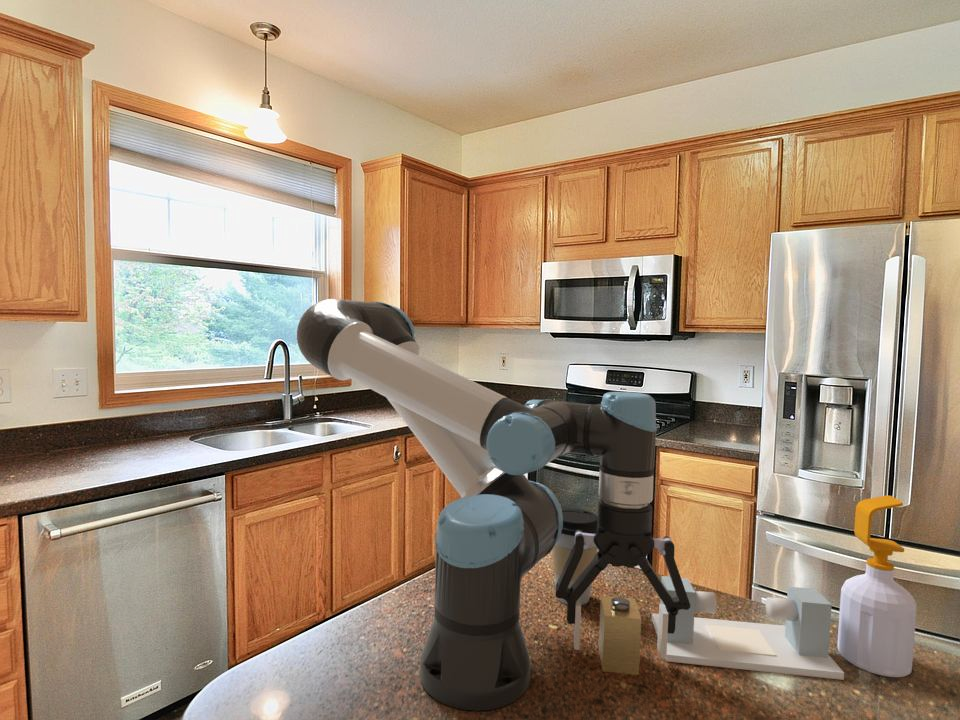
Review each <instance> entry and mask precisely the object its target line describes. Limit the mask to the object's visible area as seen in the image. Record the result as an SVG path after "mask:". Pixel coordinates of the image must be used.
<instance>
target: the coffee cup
mask: <svg viewBox="0 0 960 720" xmlns="http://www.w3.org/2000/svg"><path fill="white" fill-rule="evenodd" d="M561 509H562V514H563V527H562V532H561V535H560V537H559V539H558V541H557V542H556V544H555V546H554V547H553V549H552V551H551V554H552V570H553V573H554V575H553V576H554V586H555V587H556V584H557V581H558V579H559V577H560V575H561V573H562V570H563V568H564V566H565V564H566V562H567V559H568V557H569V555H570V553H571V550H572V548H573V546H574V540H575V532H576V530H581V531H582V532H583V533H590V534H594V533H595V531H596V529H597V519H598V514H595V513H594V512H592V511H589V510H585V509H582V508H581V509H580V508H568V507H567V508H561ZM598 551H599V550H598V548H597V547H596V545H595V544H594V543H591V544H590V545H589V547H588V548H587V549H583V554H582V557H581V559H580V561H579V564H578V566H577V568H576V570H575V572H574V575H573V577H572V579H571V581H570V583H569V586H568V588H570V587H571V586H572V585H573V583H574V582H575V581H576V580H577V578H578V577H579V576H580V575H581V573H582V572H583V571H584V570H585V569H586V567H587V566H588V565H589V564H590V562H591V561H592V560H593V559H594V556H595V555H596V553H597V552H598ZM592 583H593V582H592ZM592 583H591V584H590V586H589V587H588V588H587V589H586V590H585V592H584V593H583V594H582V595H581V597H580V599H581V606H582V605H585V604H588V602H589V601H590V597H591V591H592ZM555 587H554V589H555ZM554 591H555V592H556V589H555V590H554ZM556 599H557V601H559V602H561V603H562V604H565V605H567V601H566V600H564V599H562V598H561V599H559V598H557V597H556Z"/></svg>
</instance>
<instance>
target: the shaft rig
mask: <svg viewBox="0 0 960 720" xmlns="http://www.w3.org/2000/svg"><path fill="white" fill-rule="evenodd" d="M680 577H681V576H680ZM660 580H661V582H662V583H663V585H664V586H665V588H666V589H667V591H668V593H669V594H670V596H671V597H672V598H673V597H677V595H676V592H675V589H674V586H673V583H672V580H671V577H670V575H669V576H667V575H661V579H660ZM681 580H682V582H683V585H684V588H685V591H686V594H687V597H688V600H689V603H690V608H689V609H688V610H684V609H681V610H678V614H677V615H676V622H675V632H674V634H671V633H668V634H667V655H666V659H665V661H666V662H669V663H678V664H690V665H698V666H708V667H716V668H717V667H718V668H728V669H736V670H744V671H745V670H748V671H754V672H755V671H756V672H764V673H765V672H766V673H773V674H784V675H792V676H804V677H805V676H806V677H814V678H824V679H831V680H842V681H843V680H845V672H844V671H843V670H842V668H841V667H840V666H839V665H838V664H837V662H836V661H835V660H834V659H833V658H832V657H831V656H830V654H829V650H830V649H829V647H830V633H831V619H832V604H831V603H830V601H828V600H827V599H826V598H825V597H824V596H823V595H822V593H820V592H819V591H818V590H817V589H816V588H811V587H810V588H809V587H798V586H797V587H796V586H787V593H786V594H787V597H786V598H781V597H769V596H768V597H766V598H765V611H766V616H767V617H768V618H769V619H770V620H779V621H785V625H780V624H769V623H757V622H749V621H748V622H747V621H739V620H726V619H717V618H716V619H715V618H706V617H695V613H701V614H702V613H703V614H704V613H705V614H713V615H714V614H717V611H718V600H717V595H716V593H715V592H713V591H703V590H702V591H699V590H695V588H694V587H693V585H692V584H691V582H690V580H689V578H688V577H681ZM659 598H660V597H659ZM659 604H663V605H665V604H664V603H663V601H662V600H661V598H660V599H659ZM651 621H652V623H653V626H654V629H655V633H656V636H657V637H658V621H659V613H654V612H652V613H651Z"/></svg>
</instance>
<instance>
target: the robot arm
mask: <svg viewBox="0 0 960 720" xmlns="http://www.w3.org/2000/svg"><path fill="white" fill-rule="evenodd" d="M415 332H416V330H415V327H414V325H413V323H412V320H411V319H410V317H409V316H408V315H407V314H406V313H405V312H404V311H403V310H402V309H401V308H399V307H397V306H395V305H393V304H388V303H385V302H382V301H370V302H369V301H359V300H352V299H351V300H350V299H342V298H328V299H323V300H321V301H318V302H316V303H315V304H314V303H313V305H311V306H309V308H308V309H307V310H306V311H305V312H304V313H303V314H302V316H301V318H299V322H298V325H297V328H296V341H297V346H298V348H299V351H300V353H301V354H302V356H303V357H304V358H305V360H306V361H307V362H308V363H309V364H311V366H313V367H314V368H316V369H318V370H320V371H321V372H323V373H324V374H327V375H328V376H331V377H332V378H334V379H336V380H338V381H347V380H352V381H354V382H356V383H358V384H360V385H362V386H364V387H366V388H367V389H370V390H371V391H373V392H375V393H378V394H379V395H380V396H383V397H385V398H386V399H387V401H388V402H389V403H390V405H391V406H392V407H393V409H394V410H395V412H397V414H398V415H399V416H400V418H401V419H402V420H403V422H405V424H406V426H407V427H408V428H409V429H410V431H411V432H412V433H413V435H414V437H416V438H417V440H418V441H419V442H420V444H421V445H422V447H423V449H424V450H426V452H427V453H428V455H429V456H430V457H431V458H432V460H433V461H434V463H436V465H437V467H438V468H439V469H440V470H441V472H442V473H443V475H444V476H445V478H447V479H448V481H449V483H450V484H451V485H452V486H453V487H454V489H455V490H456V491H457V493H458V495H459V496H460V498H457V499H455V500H453V501H451V502H449V503H448V504H447V505H446V506H445V507H444V508H443V509H442V510H441V512H440V514H439V515H438V518H437V527H436V531H435V537H434V546H435V574H434V577H435V578H434V613H433V614H434V615H433V616H434V617H433V620H432V624H431V626H430V629H429V631H428V635H427V637H426V641H425V643H424V646H423V649H422V650H421V651H422V652H421V654H420V655H421V656H420V659H419V679H420V682H421V685H422V687H423V688H424V690H425V691H426V692H427V694H428V695H430V697H432V698H433V699H435V700H436V701H438V702H440V703H441V704H444V705H446V706H448V707H451V708H455V709H458V710H459V709H460V710H465V711H488V710H489V711H490V710H495V709H498V708H502V707H505V706H508V705H510V704H512V703H514V702H515V701H516V700H518V699H520V698H521V697H522V696H523V695H524V694H525V692H526V691H527V690H528V688H529V685H530V683H531V668H532V667H531V658H530V653H529V649H528V645H527V643H526V640H525V635H524V632H523V629H522V625H521V621H520V609H521V586H522V585H521V584H522V579H523V578H524V576H525V575H526V574H528V573H529V572H530V571H531V570H532V569H533V568H534V567H535V566H536V565H537V564H538V563H539V562H540V561H542V560H543V559H545V557H546V556H548V555H549V554H550V553H552V549H553V547H554V546H555V544H556V542H557V541H558V539H559V537H560V535H561V532H562V527H563V514H562V509H563V508H562V506H561V503H560V502H559V499H558V497H556V495H555V494H554V493H553V491H552V490H551V489H550V488H549V487H547V486H546V485H544V484H543V483H540V482H535V481H532V480H529V479H528V478H527V477H526V475H525V474H529V473H532V472H536V471H538V470H539V471H540V470H541V469H543V468H544V467H545V466H546V465H548V463H550V462H552V461H554V460H555V459H557V458H559V457H562V456H563V455H565V454H577V455H586V456H590V457H599V473H598V476H599V477H598V492H597V493H598V496H599V497H600V499H599V500H598V501H597V517H598V519H597V529H596V531H595V533H594V534H590V533H583V532H582V531H581V530H576V532H575V540H574V546H573V548H572V550H571V553H570V555H569V557H568V559H567V562H566V564H565V566H564V568H563V570H562V573H561V575H560V577H559V579H558V581H557V584H556V587H554V589H556V591H555V597H556V599H557V598H559V599H561V598H562V599H564V600H566V601H567V604H566V622H567V624H568V625H573V649H574V650H577V651H579V650H580V647H581V646H580V644H581V623H582V622H581V619H582V605H581V599H580V597H581V595H582V594H583V593H584V592H585V590H586V589H587V588H588V587H589V586H590V584H591V583H594V581H595V579H596V578H597V577H598V576H599V575H600V574H601V572H602V571H604V570H605V569H607V567H608V565H611V566H612V567H626V568H629V569H634V568H635V567H639V568H640V569H641V571H642V572H643V574H644V576H646V578H647V580H648V581H649V583H650V585H651V586H652V587H653V589H654V591H655V593H657V595H658V597H659V598H661V600H662V601H663V603H664V604H665V605H663V604H660V603H658V605H659V606H658V614H659V621H658V636H657V645H656V646H657V651H658V654H659V657H660V659H664V660H666V655H667V634H668V633H671V634H674V632H675V622H676V615H677V614H678V610H681V609H684V610H688V609H689V608H690V603H689V600H688V597H687V594H686V591H685V588H684V585H683V582H682V580H681V574H680V572H679V569H678V565H677V563H676V559H675V544H674V542H673V540H672V539H671V537H670V536H668V535H665V536H664V537H662V538H655V537H653V535H652V526H653V525H652V520H653V506H652V504H650V503H652V501H653V499H654V472H655V456H656V442H657V441H656V440H657V430H658V427H657V414H656V413H657V412H656V411H657V410H656V409H657V408H656V407H657V405H656V400H655V399H654V397H652V396H651V395H650V394H647V393H643V392H642V393H641V392H631V391H625V392H624V391H608V392H606V393H604V394H603V396H602V398H601V399H602V400H601V402H600V403H598V404H595V403H594V404H590V403H579V402H571V401H561V400H560V401H559V400H553V399H550V398H549V399H548V398H547V399H530V400H527V402H526V403H525V404H521V403H520V402H518V401H515V400H514V399H510V398H508V397H507V396H506V395H503V394H500V393H498V392H497V391H495V390H492V389H491V388H488V387H486V386H484V385H482V384H479V383H478V382H476V381H474V380H471V379H469V378H467V377H465V376H463V375H460V374H458V373H455V372H454V371H452V370H449V369H448V368H446V367H445V366H444V367H443V366H442V365H439V364H437V363H435V362H433V361H431V360H429V359H427V358H424V357H423V356H420V349H421V348H420V346H419V344H418V342H416V337H415V336H414V334H415ZM591 543H594V544H595V545H596V547H597V548H598V550H597V553H596V555H595V556H594V559H593V560H592V561H591V562H590V564H589V565H588V566H587V567H586V569H585V570H584V571H583V572H582V573H581V575H580V576H579V577H578V578H577V580H576V581H575V582H574V583H573V585H572V586H571V587H570V588H568V586H569V583H570V581H571V579H572V577H573V575H574V572H575V570H576V568H577V566H578V564H579V561H580V559H581V557H582V554H583V549H587V548H588V547H589V545H590V544H591ZM654 548H655V549H657V551H658V553H659V555H661V556H663V559H664V560H663V561H664V563H665V565H666V569H667V571H668V574H669V576H670V577H671V580H672V583H673V586H674V589H675V592H676V595H677V597H673V598H672V597H671V596H670V594H669V593H668V591H667V589H666V588H665V586H664V585H663V583H662V582H661V579H660V577H659V575H658V574H657V573H656V571H655V569H654V568H653V567H652V564H651V563H650V562H649V560H648V558H647V556H648V555H649V554H650V553H651V552H652V551H653V549H654Z"/></svg>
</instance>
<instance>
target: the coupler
mask: <svg viewBox="0 0 960 720" xmlns="http://www.w3.org/2000/svg"><path fill="white" fill-rule="evenodd" d="M599 609H600V610H599V630H598V631H599V632H598V650H599V651H598V652H599V658H600V665H601V671H602V672H609V673H618V674H627V675H637V676H639V674H640V658H641V656H640V655H641V654H640V653H641V640H642V639H641V638H642V617H641V613H640V610H639V607H638V604H637V601H636V598H631V597H623V596H622V597H620V596H619V597H618V596H610V595H609V596H607V595H600V608H599Z"/></svg>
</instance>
